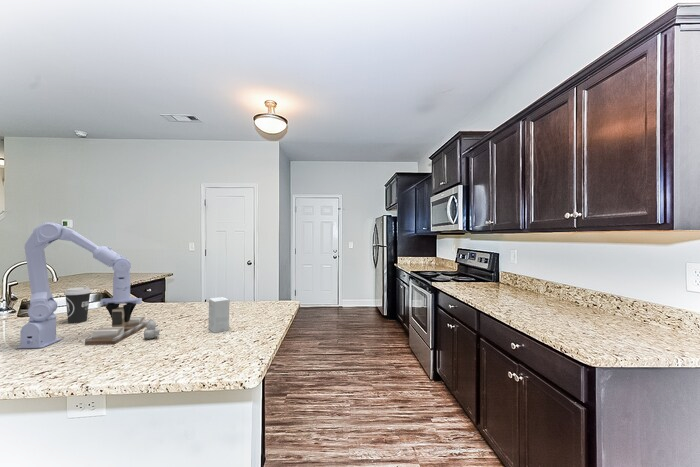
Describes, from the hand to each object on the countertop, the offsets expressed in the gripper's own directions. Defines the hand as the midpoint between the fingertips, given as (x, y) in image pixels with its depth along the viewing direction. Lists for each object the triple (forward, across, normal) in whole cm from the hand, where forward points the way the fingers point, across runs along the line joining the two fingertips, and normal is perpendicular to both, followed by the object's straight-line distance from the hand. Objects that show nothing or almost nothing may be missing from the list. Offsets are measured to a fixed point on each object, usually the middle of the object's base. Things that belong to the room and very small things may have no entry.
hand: (121, 321), depth 129 cm
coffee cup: (+5, +29, -20) cm, 36 cm away
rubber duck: (+5, -15, +7) cm, 17 cm away
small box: (+5, -37, -3) cm, 37 cm away
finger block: (+2, 0, 0) cm, 2 cm away
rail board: (+5, 0, 0) cm, 5 cm away
